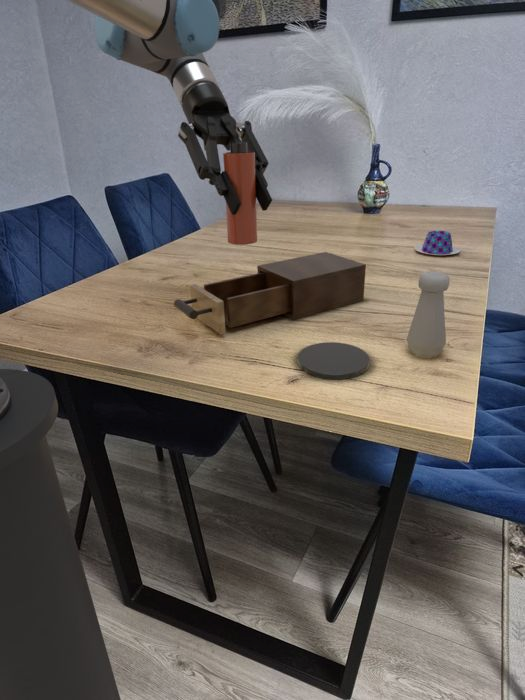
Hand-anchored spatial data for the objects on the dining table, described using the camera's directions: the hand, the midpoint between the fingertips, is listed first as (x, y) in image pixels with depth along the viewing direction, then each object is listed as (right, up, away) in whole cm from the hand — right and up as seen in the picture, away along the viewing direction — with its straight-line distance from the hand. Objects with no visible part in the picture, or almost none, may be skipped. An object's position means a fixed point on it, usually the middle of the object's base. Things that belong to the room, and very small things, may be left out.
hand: (252, 207), depth 78 cm
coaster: (+13, -25, -5) cm, 29 cm away
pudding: (+49, +3, +51) cm, 71 cm away
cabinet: (+12, -13, +20) cm, 26 cm away
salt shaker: (+27, -24, -3) cm, 37 cm away
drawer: (-4, -17, +11) cm, 21 cm away
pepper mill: (-2, -4, +6) cm, 7 cm away
